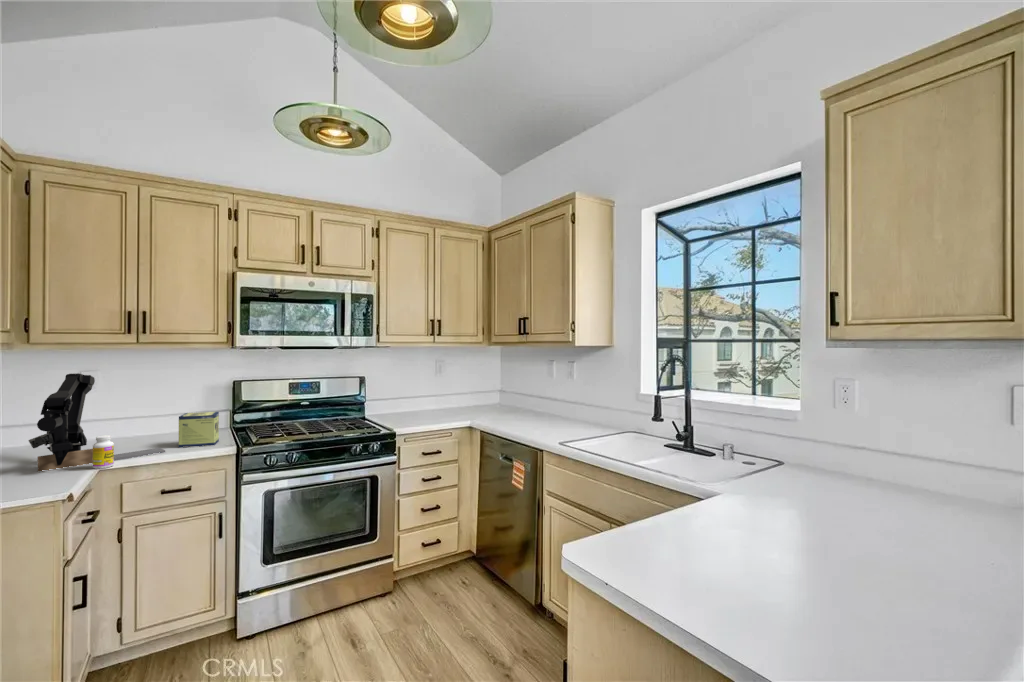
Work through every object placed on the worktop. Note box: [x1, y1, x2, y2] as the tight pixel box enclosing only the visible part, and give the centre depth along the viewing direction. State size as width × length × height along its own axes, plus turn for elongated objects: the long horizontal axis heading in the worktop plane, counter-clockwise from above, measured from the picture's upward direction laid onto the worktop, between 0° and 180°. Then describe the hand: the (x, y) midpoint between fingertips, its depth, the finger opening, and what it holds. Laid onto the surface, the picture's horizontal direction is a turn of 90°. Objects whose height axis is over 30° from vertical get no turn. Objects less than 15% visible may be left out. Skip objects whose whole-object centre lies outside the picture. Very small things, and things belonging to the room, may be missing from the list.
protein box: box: [177, 411, 220, 448], centre depth 237 cm, size 10×16×16 cm
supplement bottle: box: [92, 434, 115, 470], centre depth 196 cm, size 7×7×13 cm
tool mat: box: [114, 447, 166, 462], centre depth 215 cm, size 8×22×1 cm, turn 142°
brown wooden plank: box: [37, 448, 93, 472], centre depth 197 cm, size 18×2×6 cm, turn 142°
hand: (58, 464), depth 194 cm, fingers closed on brown wooden plank, 2 cm apart
